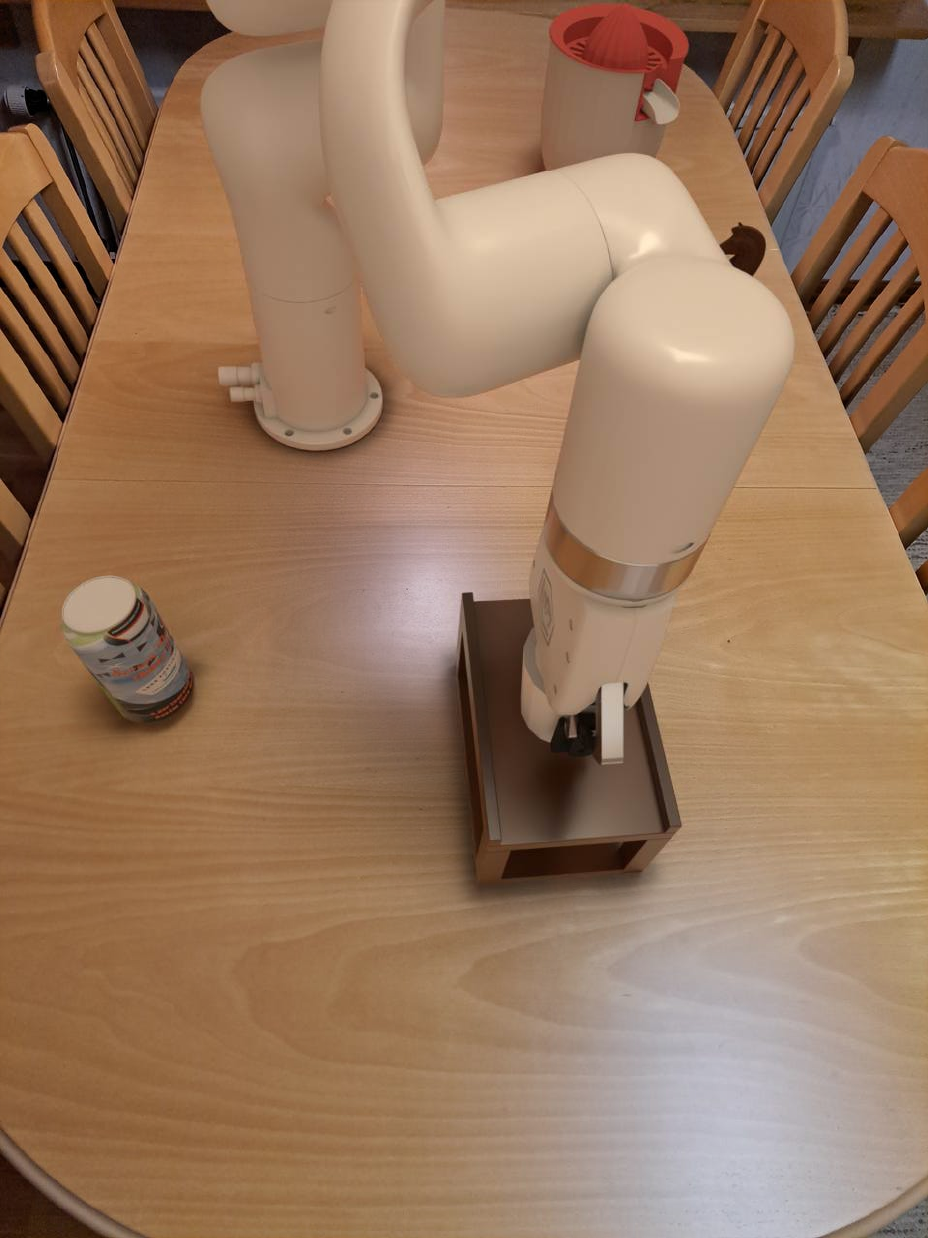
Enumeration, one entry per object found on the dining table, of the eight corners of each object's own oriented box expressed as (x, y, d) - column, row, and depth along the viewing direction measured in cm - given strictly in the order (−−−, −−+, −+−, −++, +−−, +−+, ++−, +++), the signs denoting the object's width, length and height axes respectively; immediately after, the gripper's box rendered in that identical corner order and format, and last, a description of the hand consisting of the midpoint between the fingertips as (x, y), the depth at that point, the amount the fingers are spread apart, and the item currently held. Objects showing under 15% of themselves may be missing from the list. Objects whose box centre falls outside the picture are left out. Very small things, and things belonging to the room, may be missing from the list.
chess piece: (699, 290, 96) (728, 208, 87) (743, 301, 95) (775, 219, 87) (693, 315, 93) (721, 233, 85) (738, 326, 93) (771, 244, 84)
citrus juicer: (598, 242, 99) (637, 59, 83) (505, 173, 106) (523, -9, 89) (686, 200, 105) (739, 21, 88) (593, 138, 112) (625, -40, 95)
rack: (477, 885, 58) (489, 841, 50) (455, 662, 68) (461, 592, 59) (642, 871, 60) (682, 826, 51) (598, 654, 69) (625, 584, 60)
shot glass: (606, 764, 54) (630, 719, 48) (502, 742, 54) (514, 694, 48) (616, 674, 58) (640, 621, 52) (520, 654, 58) (532, 599, 52)
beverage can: (160, 745, 63) (111, 669, 52) (88, 697, 64) (28, 615, 54) (215, 683, 66) (179, 601, 55) (146, 639, 67) (99, 551, 57)
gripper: (523, 396, 43) (493, 587, 58) (577, 692, 34) (526, 827, 49) (662, 393, 44) (597, 582, 59) (751, 682, 35) (648, 818, 50)
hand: (565, 693), depth 54 cm, fingers closed on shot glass, 6 cm apart
